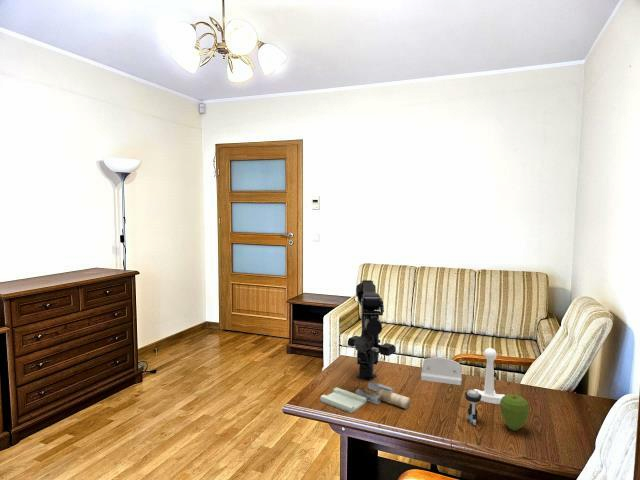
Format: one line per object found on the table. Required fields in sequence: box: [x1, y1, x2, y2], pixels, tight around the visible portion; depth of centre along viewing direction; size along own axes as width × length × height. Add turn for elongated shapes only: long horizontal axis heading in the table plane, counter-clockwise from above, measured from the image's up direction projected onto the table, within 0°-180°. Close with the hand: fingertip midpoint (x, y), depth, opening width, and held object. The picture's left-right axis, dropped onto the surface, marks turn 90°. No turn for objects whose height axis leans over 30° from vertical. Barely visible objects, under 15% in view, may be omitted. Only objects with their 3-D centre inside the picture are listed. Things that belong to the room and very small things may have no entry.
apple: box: [499, 393, 530, 432], centre depth 135 cm, size 9×8×12 cm
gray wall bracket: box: [420, 356, 463, 386], centre depth 174 cm, size 17×5×10 cm, turn 71°
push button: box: [464, 389, 482, 426], centre depth 140 cm, size 7×5×10 cm
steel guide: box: [355, 380, 394, 406], centre depth 159 cm, size 11×10×2 cm
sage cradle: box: [319, 387, 368, 414], centre depth 153 cm, size 10×14×2 cm
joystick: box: [473, 347, 506, 405], centre depth 156 cm, size 11×8×20 cm
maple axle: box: [375, 388, 411, 410], centre depth 153 cm, size 12×4×4 cm, turn 50°
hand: (370, 366), depth 159 cm, fingers closed
